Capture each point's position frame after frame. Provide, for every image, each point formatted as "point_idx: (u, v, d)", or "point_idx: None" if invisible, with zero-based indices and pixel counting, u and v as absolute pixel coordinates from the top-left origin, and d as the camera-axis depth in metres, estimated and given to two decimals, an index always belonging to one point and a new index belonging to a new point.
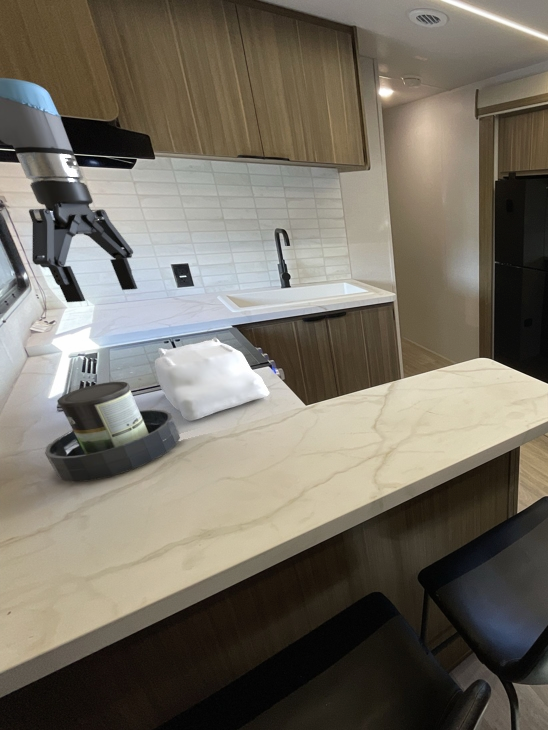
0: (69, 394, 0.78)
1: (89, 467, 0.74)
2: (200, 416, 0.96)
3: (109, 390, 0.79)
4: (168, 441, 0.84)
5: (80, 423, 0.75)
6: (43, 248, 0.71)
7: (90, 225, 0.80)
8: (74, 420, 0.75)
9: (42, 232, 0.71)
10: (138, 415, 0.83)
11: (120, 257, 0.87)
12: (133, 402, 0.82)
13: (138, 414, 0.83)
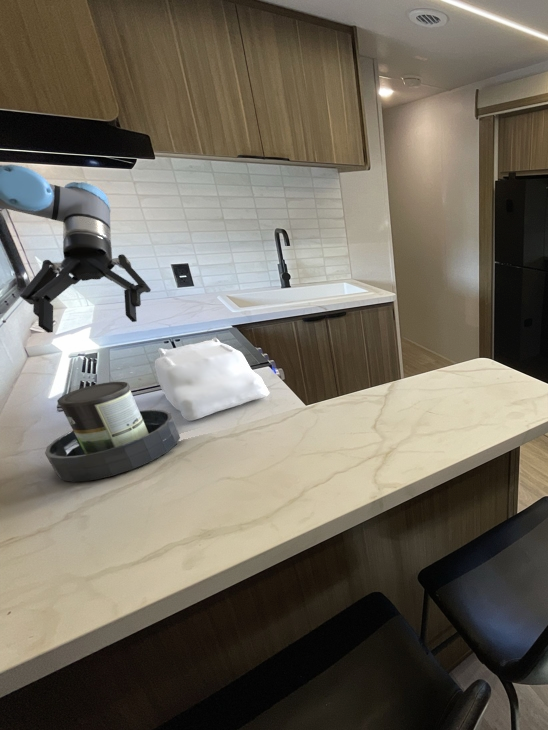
0: (69, 394, 0.78)
1: (89, 467, 0.74)
2: (200, 416, 0.96)
3: (109, 390, 0.79)
4: (168, 441, 0.84)
5: (80, 423, 0.75)
6: None
7: None
8: (74, 420, 0.75)
9: None
10: (138, 415, 0.83)
11: None
12: (133, 402, 0.82)
13: (138, 414, 0.83)
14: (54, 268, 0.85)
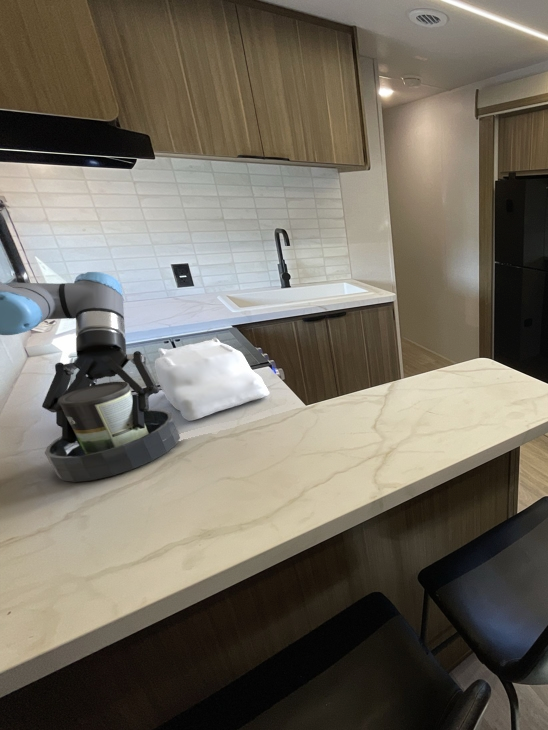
0: (69, 394, 0.78)
1: (89, 467, 0.74)
2: (200, 416, 0.96)
3: (109, 390, 0.79)
4: (168, 441, 0.84)
5: (80, 423, 0.75)
6: (153, 381, 0.86)
7: None
8: (74, 420, 0.75)
9: (147, 370, 0.86)
10: None
11: None
12: None
13: None
14: (68, 370, 0.81)
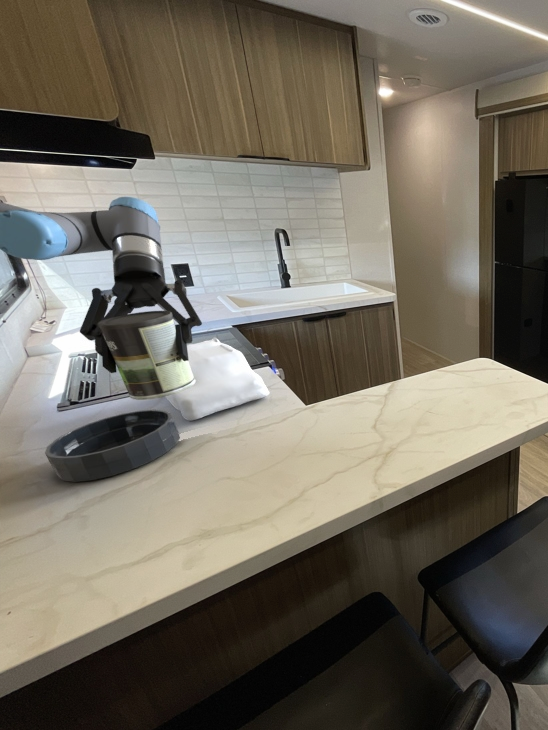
0: (109, 319, 0.71)
1: (89, 467, 0.74)
2: (200, 416, 0.96)
3: (152, 316, 0.72)
4: (168, 441, 0.84)
5: (122, 349, 0.69)
6: (196, 313, 0.79)
7: None
8: (116, 345, 0.69)
9: None
10: None
11: None
12: None
13: None
14: (106, 296, 0.75)
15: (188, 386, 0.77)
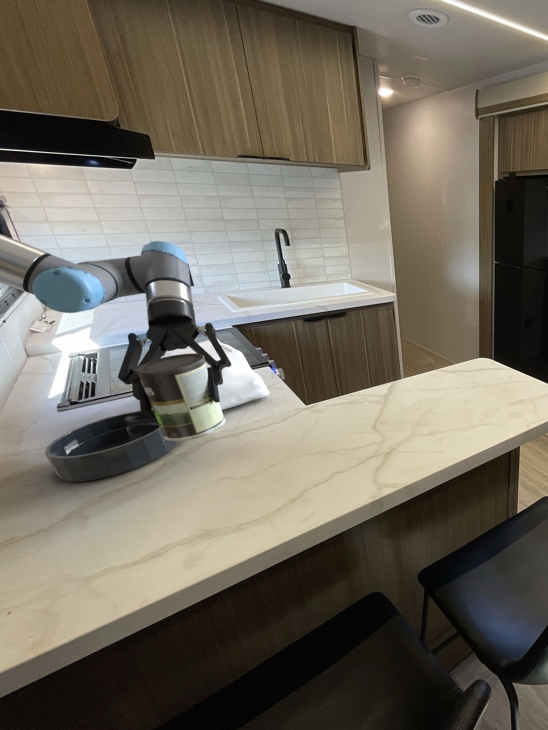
0: (145, 365, 0.74)
1: (89, 467, 0.74)
2: None
3: (186, 361, 0.75)
4: (168, 441, 0.84)
5: (159, 395, 0.72)
6: None
7: None
8: (153, 391, 0.72)
9: (219, 343, 0.83)
10: None
11: None
12: None
13: None
14: (141, 341, 0.78)
15: (219, 426, 0.80)
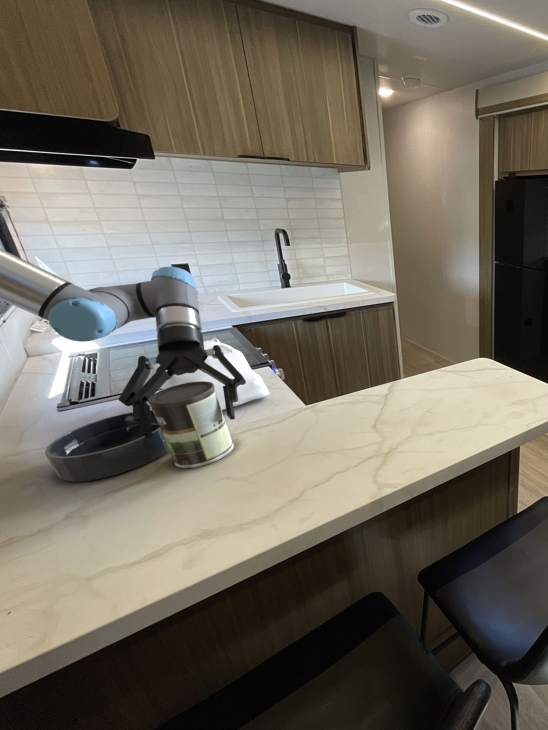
0: (157, 394, 0.76)
1: (89, 467, 0.74)
2: None
3: (196, 390, 0.78)
4: None
5: (171, 424, 0.74)
6: None
7: None
8: (165, 421, 0.74)
9: None
10: (222, 415, 0.81)
11: None
12: (218, 402, 0.80)
13: (222, 414, 0.81)
14: (149, 364, 0.80)
15: (228, 452, 0.82)
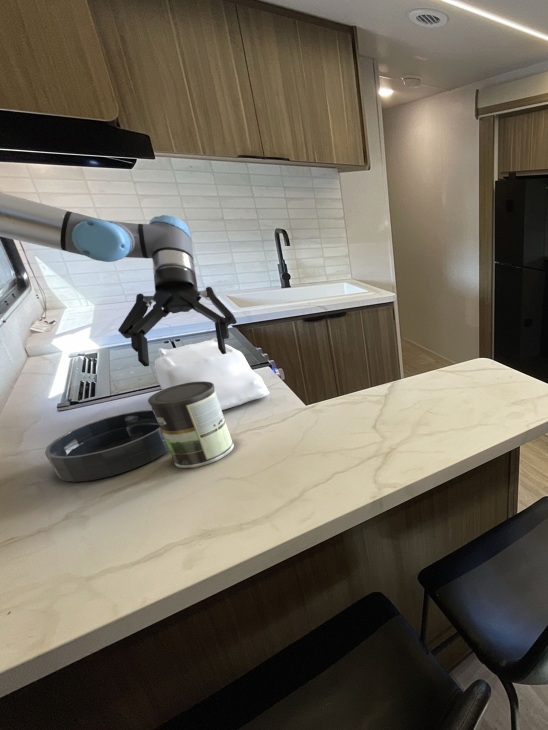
0: (157, 394, 0.76)
1: (89, 467, 0.74)
2: None
3: (196, 390, 0.78)
4: None
5: (171, 424, 0.74)
6: None
7: None
8: (165, 421, 0.74)
9: None
10: (222, 415, 0.81)
11: None
12: (218, 402, 0.80)
13: (222, 414, 0.81)
14: (147, 302, 0.86)
15: (228, 452, 0.82)
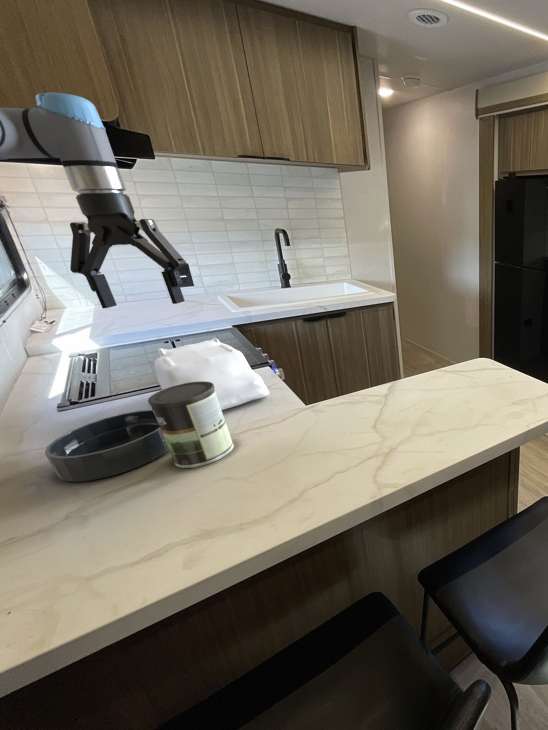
0: (157, 394, 0.76)
1: (89, 467, 0.74)
2: None
3: (196, 390, 0.78)
4: None
5: (171, 424, 0.74)
6: (176, 252, 0.81)
7: None
8: (165, 421, 0.74)
9: (164, 239, 0.80)
10: (222, 415, 0.81)
11: (95, 273, 0.81)
12: (218, 402, 0.80)
13: (222, 414, 0.81)
14: (84, 232, 0.77)
15: (228, 452, 0.82)
